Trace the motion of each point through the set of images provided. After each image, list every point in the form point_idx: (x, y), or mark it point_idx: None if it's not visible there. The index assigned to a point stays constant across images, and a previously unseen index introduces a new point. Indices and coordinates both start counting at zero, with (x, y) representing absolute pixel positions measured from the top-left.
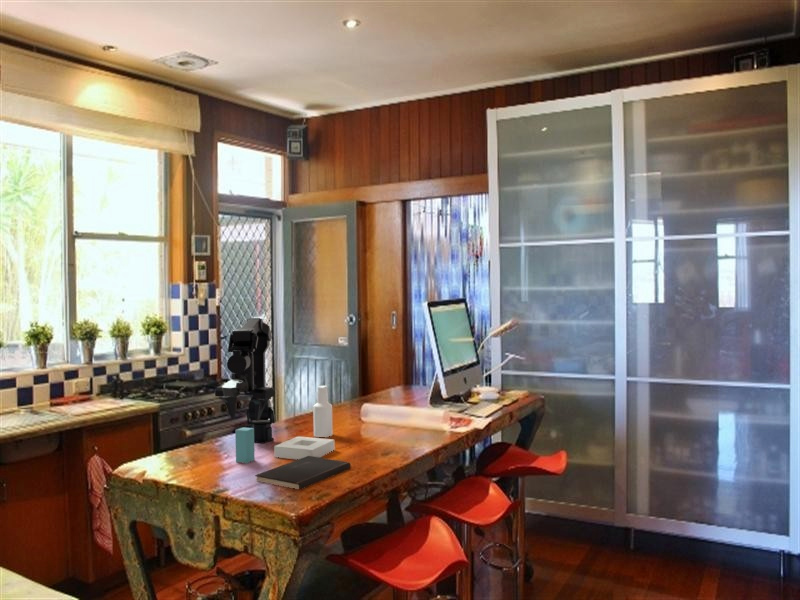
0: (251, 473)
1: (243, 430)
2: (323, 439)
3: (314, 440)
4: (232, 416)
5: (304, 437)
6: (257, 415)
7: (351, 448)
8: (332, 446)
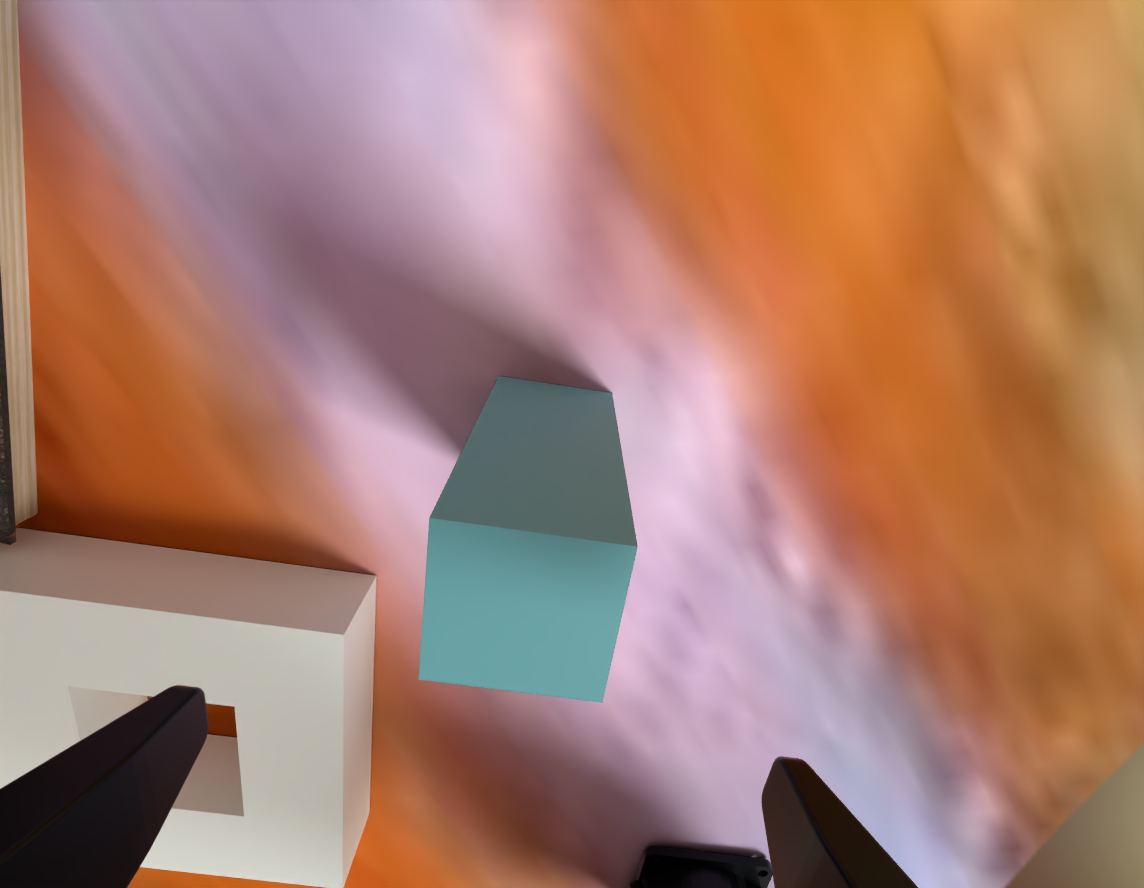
0: (260, 60)
1: (490, 540)
2: None
3: None
4: (791, 801)
5: (273, 872)
6: (42, 764)
7: None
8: None
